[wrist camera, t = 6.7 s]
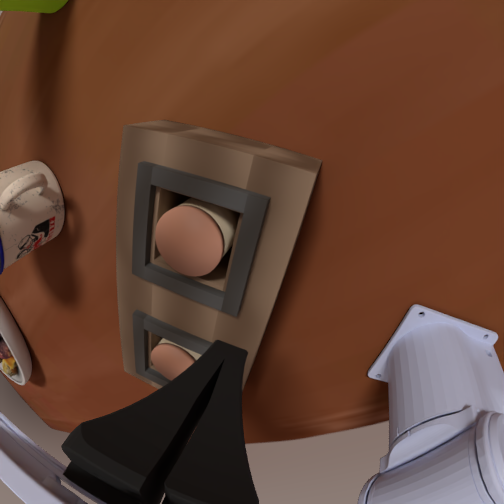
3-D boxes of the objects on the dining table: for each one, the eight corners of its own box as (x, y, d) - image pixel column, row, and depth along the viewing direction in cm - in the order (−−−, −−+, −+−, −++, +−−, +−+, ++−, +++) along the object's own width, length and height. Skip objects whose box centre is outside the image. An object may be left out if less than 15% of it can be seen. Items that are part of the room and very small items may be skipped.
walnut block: (322, 160, 18) (315, 176, 13) (244, 384, 28) (228, 424, 24) (164, 119, 19) (117, 126, 15) (147, 342, 30) (121, 375, 25)
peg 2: (224, 320, 25) (200, 361, 21) (217, 352, 27) (195, 391, 23) (180, 302, 26) (150, 339, 21) (177, 335, 28) (150, 371, 23)
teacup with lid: (44, 250, 29) (-30, 301, 19) (13, 183, 27) (-65, 221, 17) (96, 207, 24) (-9, 268, 14) (57, 123, 22) (-52, 153, 12)
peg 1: (254, 195, 20) (228, 221, 15) (241, 249, 22) (214, 286, 17) (197, 178, 20) (158, 198, 16) (189, 231, 22) (153, 261, 18)
